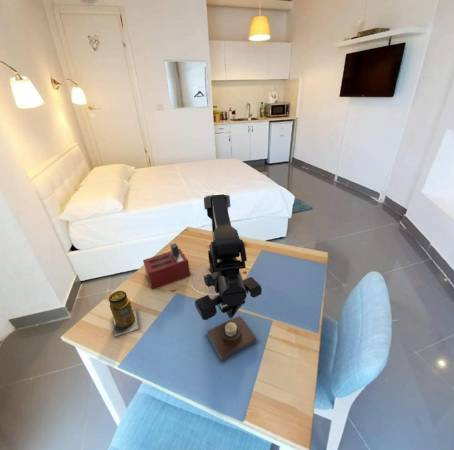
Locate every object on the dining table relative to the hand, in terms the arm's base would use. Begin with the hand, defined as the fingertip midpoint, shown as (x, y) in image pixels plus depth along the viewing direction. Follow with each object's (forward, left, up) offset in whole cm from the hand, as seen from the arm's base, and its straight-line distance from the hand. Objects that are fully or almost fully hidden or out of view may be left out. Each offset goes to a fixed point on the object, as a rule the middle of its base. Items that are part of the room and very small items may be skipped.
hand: (230, 317), depth 74 cm
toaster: (+8, -41, -10) cm, 43 cm away
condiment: (+28, -24, -10) cm, 38 cm away
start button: (0, 0, -6) cm, 6 cm away
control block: (0, 0, -10) cm, 10 cm away
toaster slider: (+3, -43, -2) cm, 43 cm away
